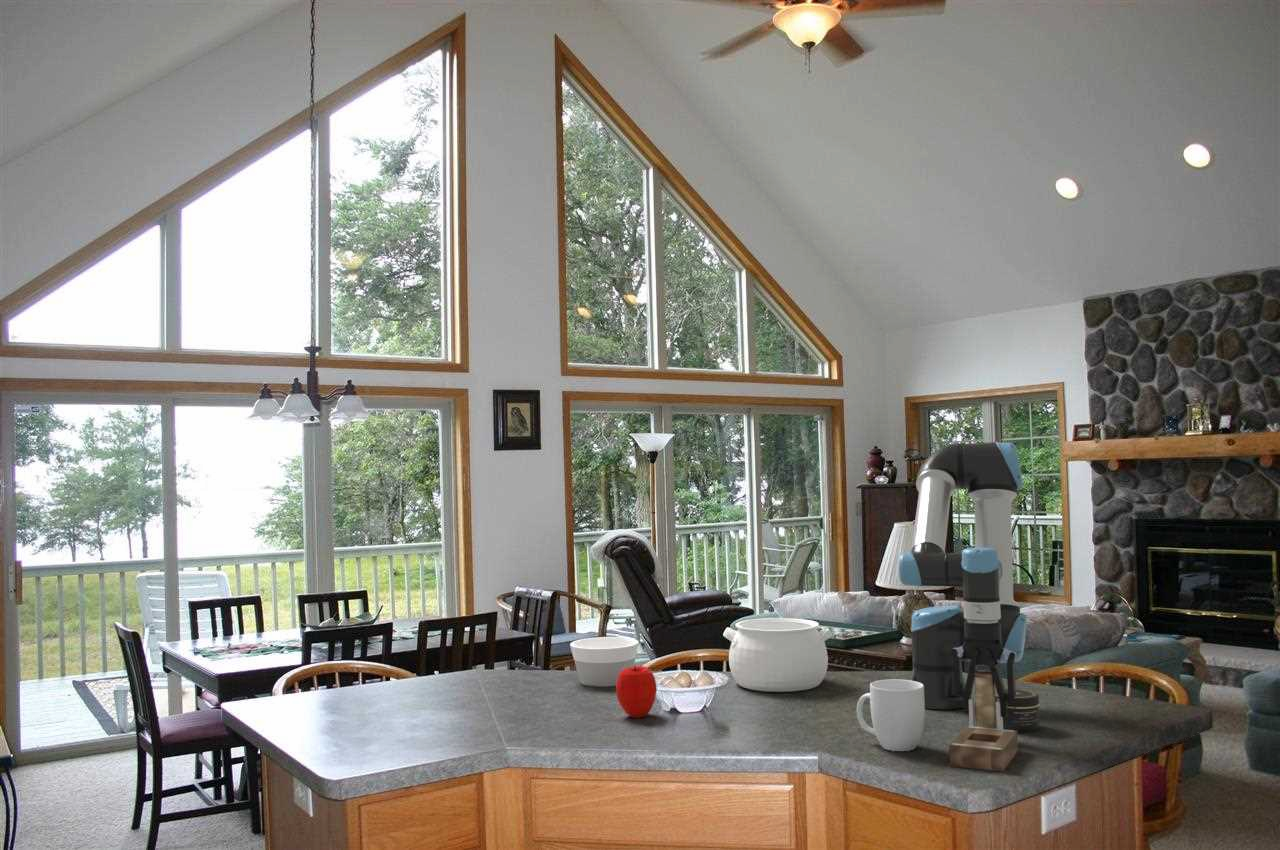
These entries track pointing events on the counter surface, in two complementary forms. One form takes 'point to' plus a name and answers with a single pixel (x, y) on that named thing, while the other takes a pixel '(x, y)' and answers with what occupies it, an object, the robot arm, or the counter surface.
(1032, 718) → the jar
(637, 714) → the apple
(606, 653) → the bowl
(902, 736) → the mug
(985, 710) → the dowel
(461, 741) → the counter surface
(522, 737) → the counter surface
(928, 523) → the robot arm
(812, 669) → the pot
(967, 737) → the socket board
